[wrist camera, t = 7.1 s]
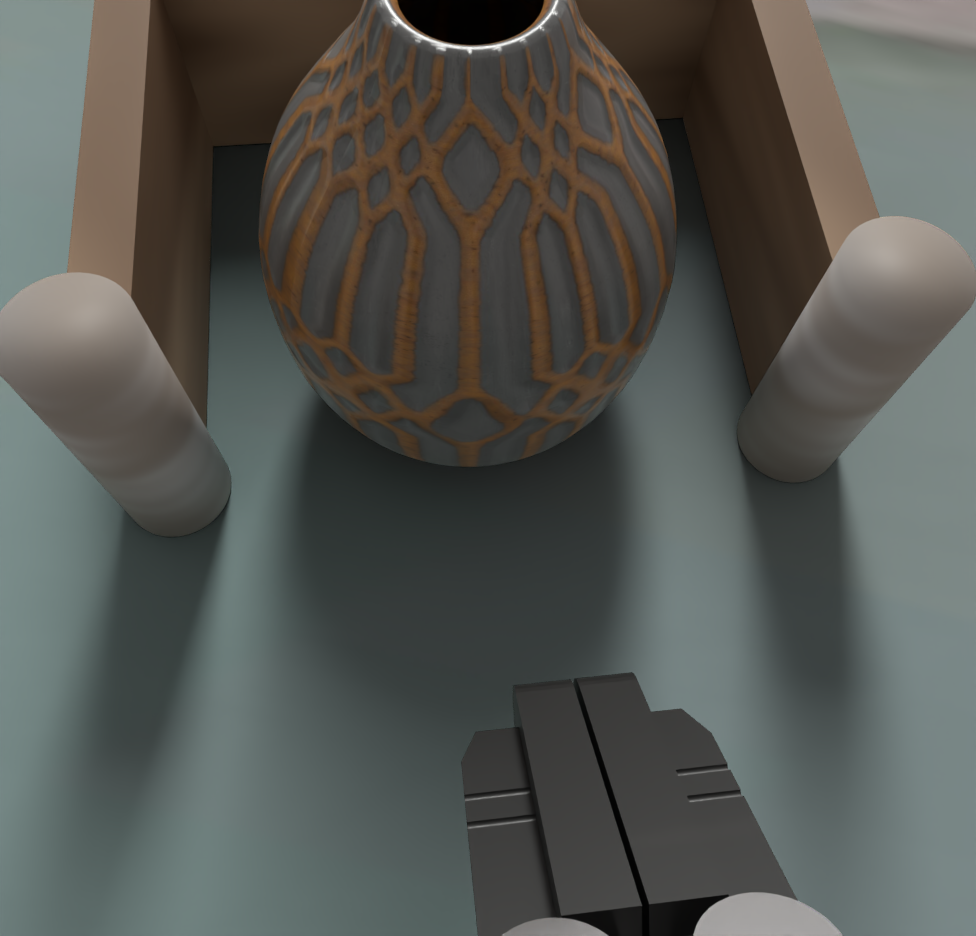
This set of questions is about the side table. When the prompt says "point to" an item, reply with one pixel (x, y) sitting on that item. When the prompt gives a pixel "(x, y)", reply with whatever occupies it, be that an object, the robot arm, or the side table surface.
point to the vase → (467, 227)
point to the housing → (253, 120)
